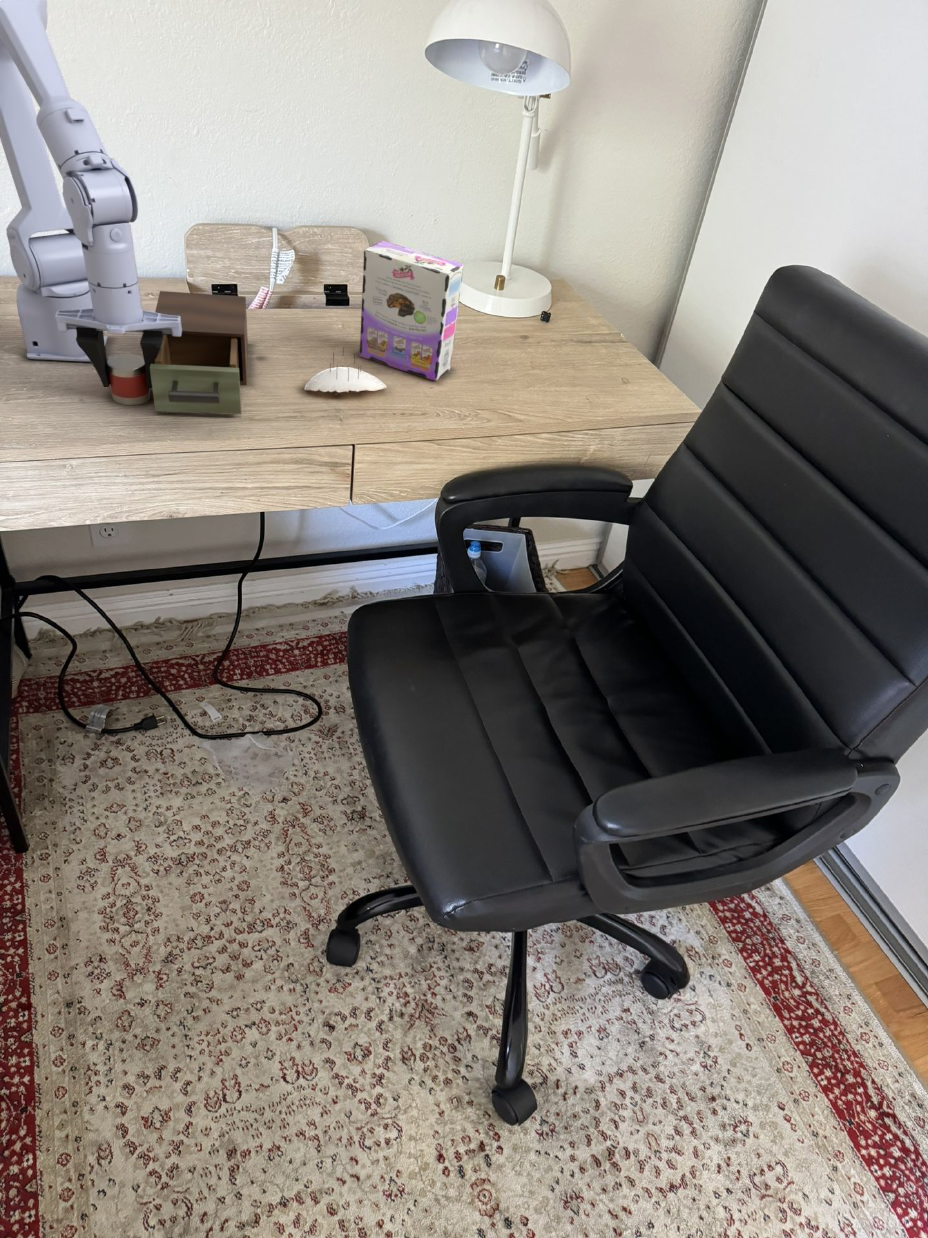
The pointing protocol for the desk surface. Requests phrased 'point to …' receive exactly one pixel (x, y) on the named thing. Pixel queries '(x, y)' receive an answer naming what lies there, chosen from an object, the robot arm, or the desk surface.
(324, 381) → the pincushion
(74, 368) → the desk surface
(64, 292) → the robot arm
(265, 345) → the desk surface
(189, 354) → the drawer
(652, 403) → the desk surface
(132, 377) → the can
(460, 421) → the desk surface
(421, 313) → the candy box
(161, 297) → the cabinet
